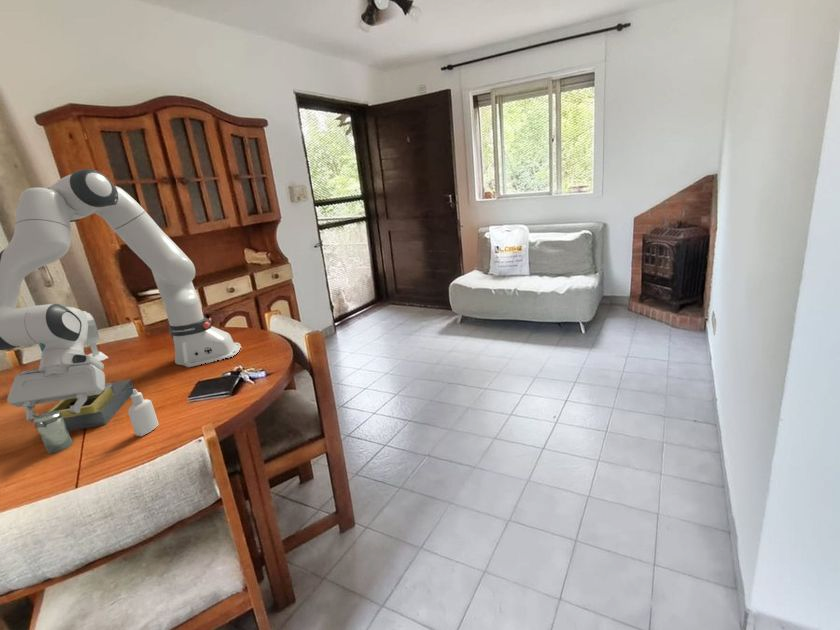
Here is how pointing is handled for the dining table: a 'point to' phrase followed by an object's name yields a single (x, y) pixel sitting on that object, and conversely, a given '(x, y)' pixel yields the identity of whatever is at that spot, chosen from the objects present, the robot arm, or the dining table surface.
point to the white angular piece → (93, 338)
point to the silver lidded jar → (53, 431)
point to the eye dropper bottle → (142, 414)
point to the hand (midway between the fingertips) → (53, 416)
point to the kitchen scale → (96, 406)
